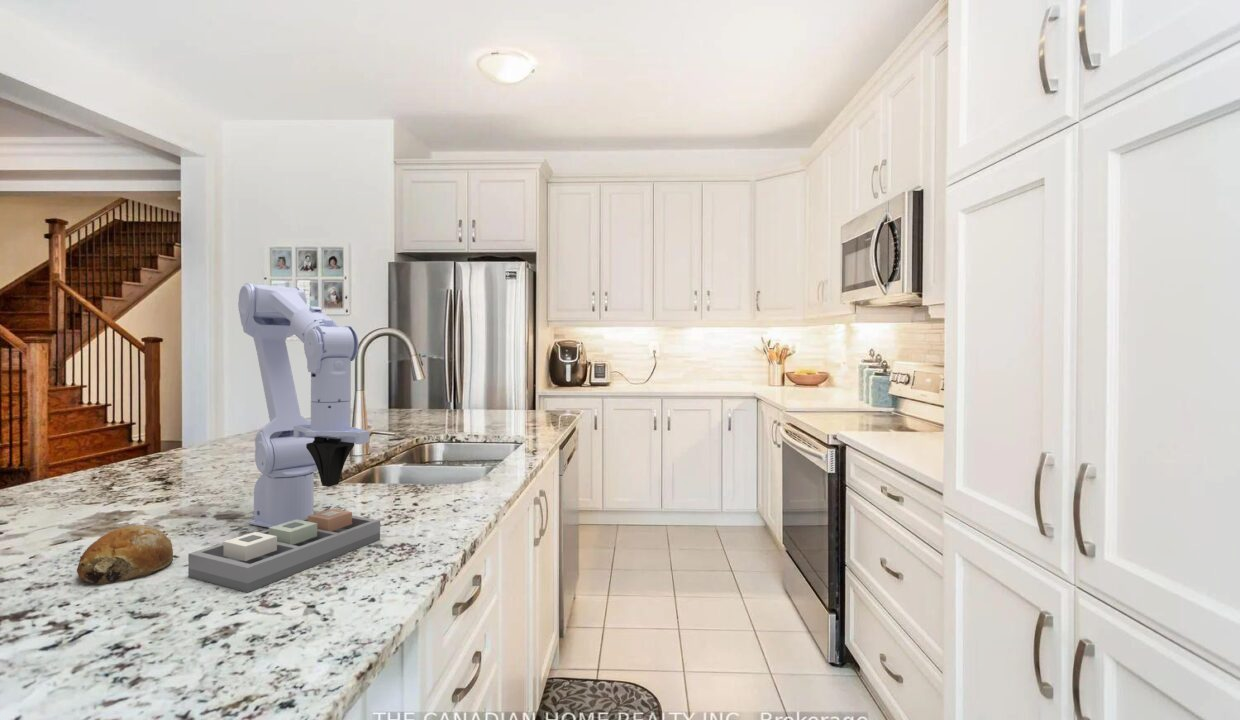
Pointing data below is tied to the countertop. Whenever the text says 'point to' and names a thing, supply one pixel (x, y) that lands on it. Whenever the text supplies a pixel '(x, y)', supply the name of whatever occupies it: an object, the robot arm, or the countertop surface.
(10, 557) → the countertop surface
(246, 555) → the key offwhite
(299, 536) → the key sage
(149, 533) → the bread roll
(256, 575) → the grey compartment tray
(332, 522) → the key terracotta
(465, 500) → the countertop surface
